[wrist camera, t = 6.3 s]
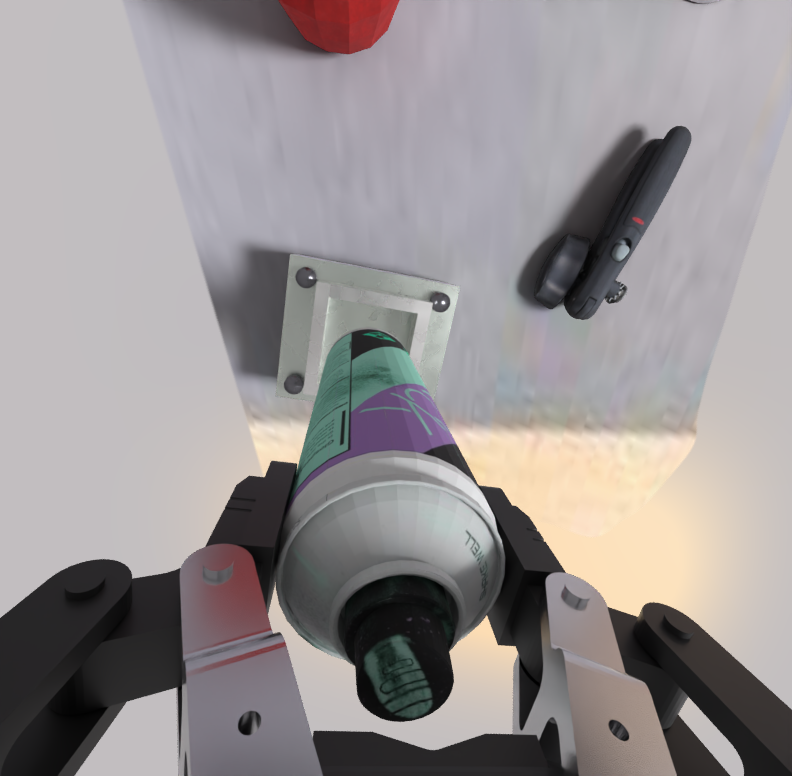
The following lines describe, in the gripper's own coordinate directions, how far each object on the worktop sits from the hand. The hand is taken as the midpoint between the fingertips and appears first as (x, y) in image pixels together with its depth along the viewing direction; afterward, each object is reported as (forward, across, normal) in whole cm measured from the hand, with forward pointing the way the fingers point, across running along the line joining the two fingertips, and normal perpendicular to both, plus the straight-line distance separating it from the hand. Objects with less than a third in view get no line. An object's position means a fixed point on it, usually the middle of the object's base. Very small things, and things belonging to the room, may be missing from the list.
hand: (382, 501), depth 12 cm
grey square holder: (+28, 0, 0) cm, 28 cm away
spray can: (+15, 0, 0) cm, 15 cm away
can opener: (+29, -21, -13) cm, 38 cm away
